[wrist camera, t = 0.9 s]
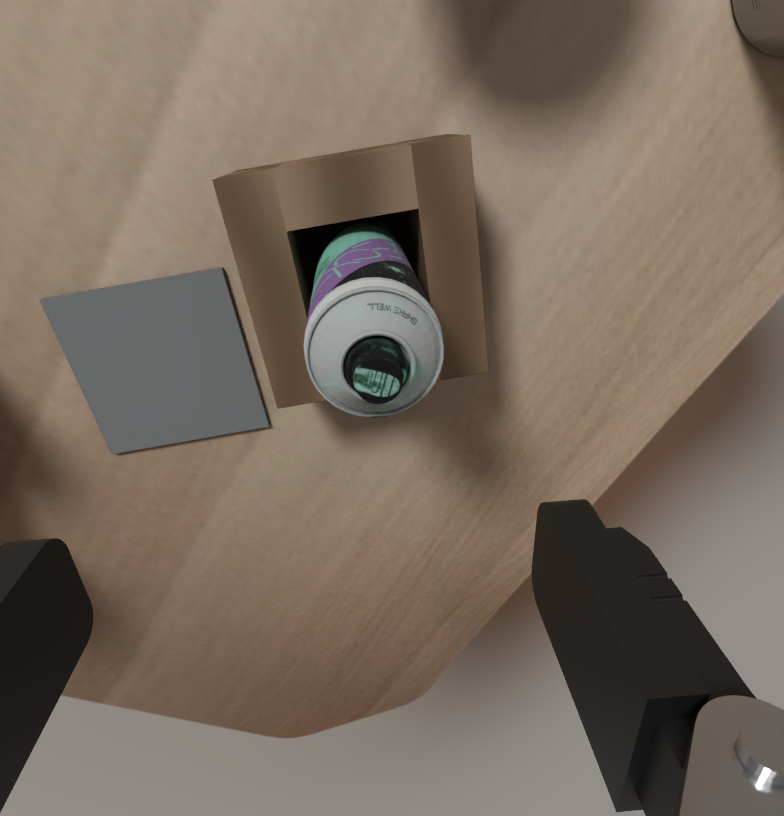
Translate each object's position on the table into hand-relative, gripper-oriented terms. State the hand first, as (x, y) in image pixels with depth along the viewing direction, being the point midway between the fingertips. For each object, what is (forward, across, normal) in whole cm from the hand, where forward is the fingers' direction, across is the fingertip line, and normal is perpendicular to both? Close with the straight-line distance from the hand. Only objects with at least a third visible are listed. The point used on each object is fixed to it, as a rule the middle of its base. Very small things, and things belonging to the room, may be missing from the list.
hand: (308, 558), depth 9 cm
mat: (+29, +13, +8) cm, 33 cm away
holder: (+30, -1, +1) cm, 30 cm away
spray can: (+30, -1, +1) cm, 30 cm away
